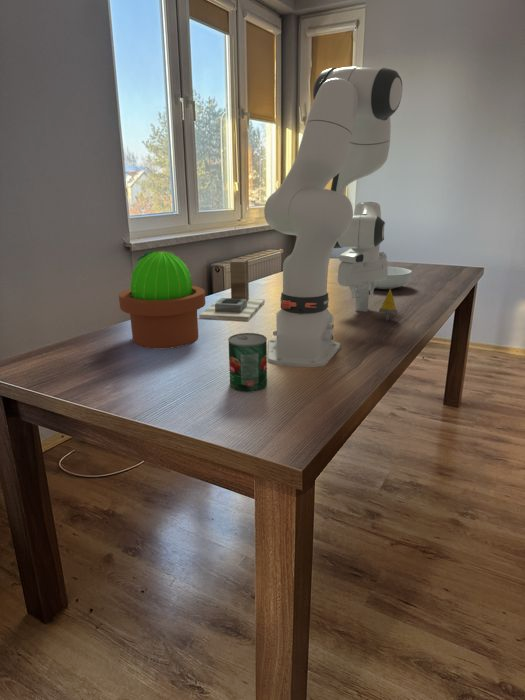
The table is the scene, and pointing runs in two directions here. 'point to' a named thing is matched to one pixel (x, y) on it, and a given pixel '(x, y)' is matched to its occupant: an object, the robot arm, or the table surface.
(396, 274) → the serving bowl
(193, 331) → the potted cactus
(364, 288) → the gray rectangular block
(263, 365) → the canned tomato
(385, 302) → the yellow cone on disc
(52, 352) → the table surface
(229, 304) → the socket board with post
